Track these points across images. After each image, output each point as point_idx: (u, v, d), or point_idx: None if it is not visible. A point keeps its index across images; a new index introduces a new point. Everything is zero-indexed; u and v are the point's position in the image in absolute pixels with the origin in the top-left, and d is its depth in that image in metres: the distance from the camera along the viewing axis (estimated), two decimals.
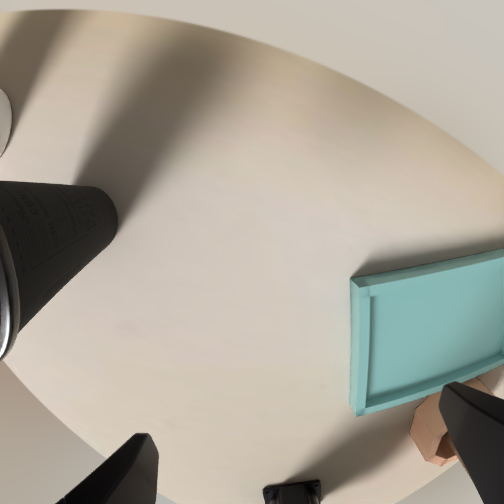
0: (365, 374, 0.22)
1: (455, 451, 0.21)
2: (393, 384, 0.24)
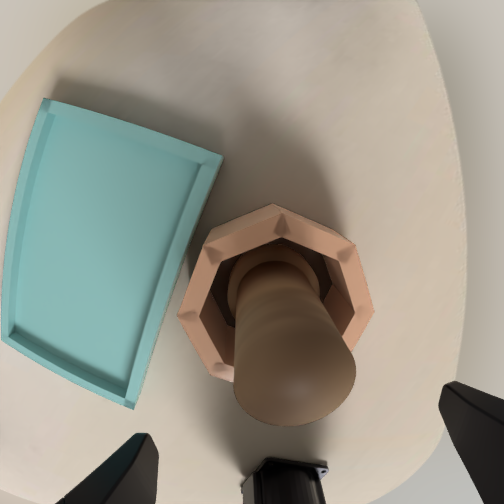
0: (77, 378, 0.19)
1: None
2: (123, 355, 0.20)
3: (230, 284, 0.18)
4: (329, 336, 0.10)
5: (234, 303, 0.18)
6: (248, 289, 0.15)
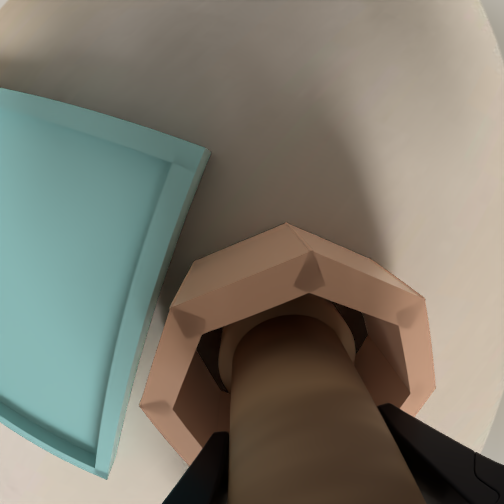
0: (37, 440, 0.12)
1: None
2: (86, 420, 0.13)
3: (222, 349, 0.11)
4: None
5: (229, 374, 0.11)
6: (249, 377, 0.08)
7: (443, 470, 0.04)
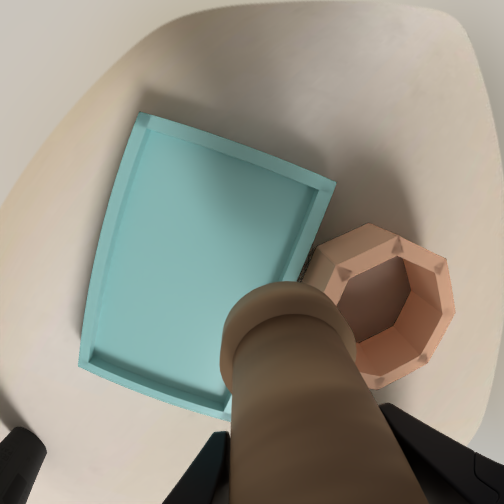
0: (172, 398, 0.20)
1: None
2: None
3: (223, 348, 0.11)
4: None
5: (230, 373, 0.11)
6: (250, 376, 0.08)
7: (443, 470, 0.04)
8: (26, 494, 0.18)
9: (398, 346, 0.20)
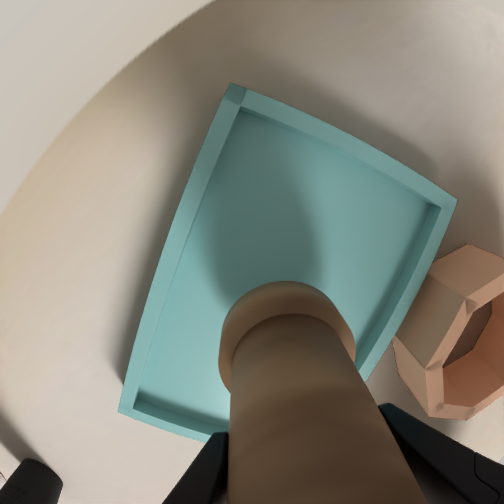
0: None
1: None
2: None
3: (222, 348, 0.11)
4: None
5: (228, 373, 0.11)
6: (249, 376, 0.08)
7: (443, 470, 0.04)
8: None
9: (482, 372, 0.15)
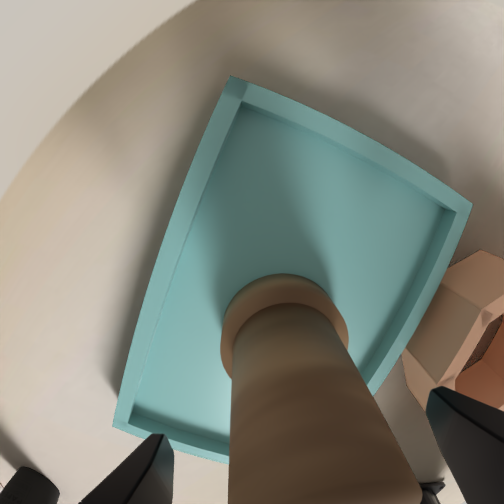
0: None
1: None
2: None
3: (223, 335, 0.12)
4: (395, 480, 0.04)
5: (230, 359, 0.12)
6: (249, 357, 0.09)
7: None
8: None
9: (492, 383, 0.14)
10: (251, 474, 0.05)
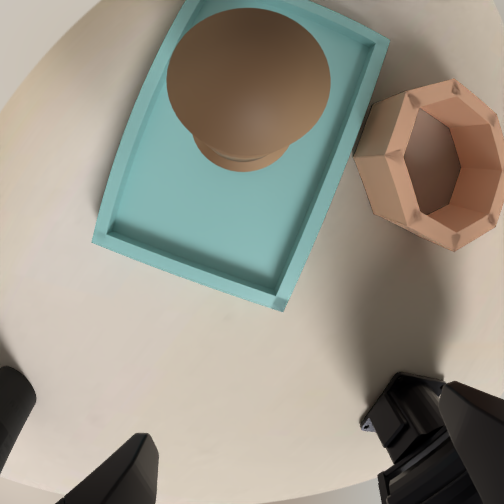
0: (211, 277, 0.18)
1: (236, 158, 0.12)
2: (277, 238, 0.18)
3: None
4: (283, 15, 0.07)
5: None
6: None
7: None
8: (6, 448, 0.15)
9: (462, 213, 0.17)
10: None
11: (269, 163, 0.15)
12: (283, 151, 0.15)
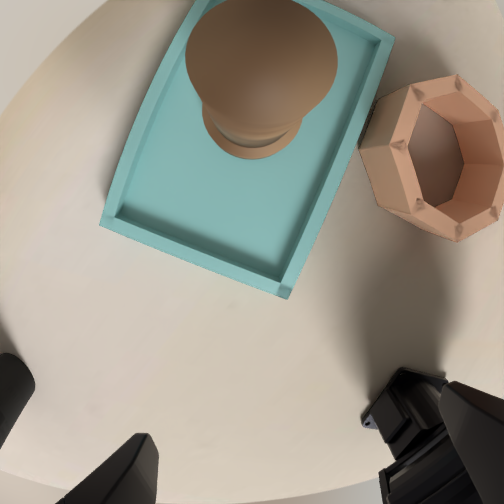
0: (217, 262, 0.18)
1: (246, 138, 0.12)
2: (283, 226, 0.19)
3: None
4: (294, 1, 0.07)
5: (209, 116, 0.15)
6: None
7: None
8: (2, 434, 0.15)
9: (465, 207, 0.17)
10: None
11: (277, 150, 0.16)
12: (291, 139, 0.16)
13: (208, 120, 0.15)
